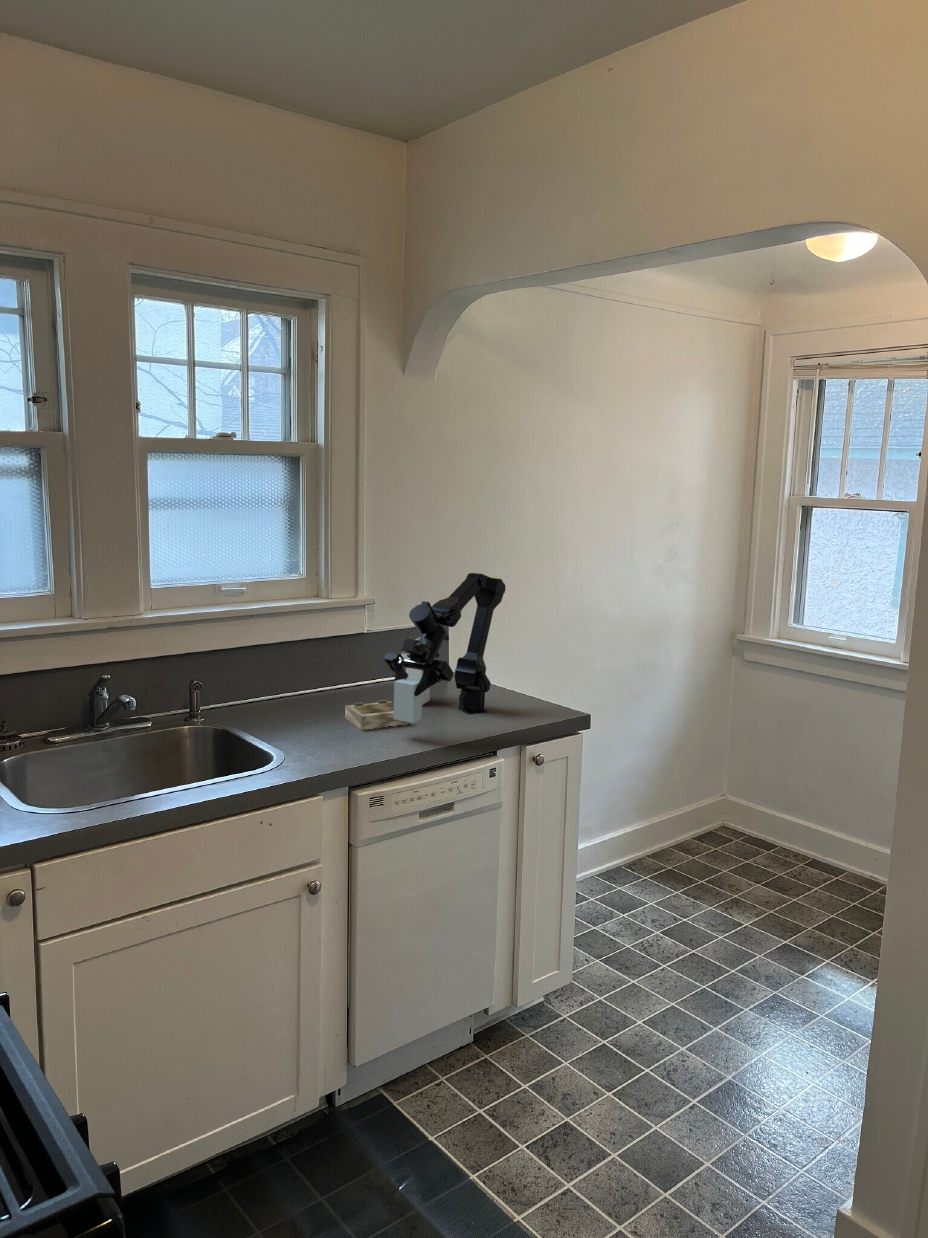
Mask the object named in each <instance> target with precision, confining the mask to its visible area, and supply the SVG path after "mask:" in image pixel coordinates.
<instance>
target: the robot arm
mask: <svg viewBox="0 0 928 1238" xmlns="http://www.w3.org/2000/svg"><path fill="white" fill-rule="evenodd" d="M505 592H506V584H505V583H504V581H503V579H502V578H497V577H490V576H487V574H484V573H479V572H470V573H467V574H466V577H465V579H464V580H463V581H462V582H461V584H460V585H459V586H458V587H457V588H455V590H454V591H453V592H452V593H451V594H450V595H448V597H446V598H442V599H439V600H438V601H437V602H435V603H433V605H431V603H430V602H429V601H425V600H423V601H421V603H420V604H417V605H415V606H414V607H413V608H412V609H410V611H409V614H408V616H409V619H410V621H411V622H412V624H413V625H414V628H416V630H417V631H418V633H420V634H422V635H421V636H420V637H421V638H420V637H419V638H420V640H415V639H412V638H406V637H405V638H404V637H403V641H402V642H401V643H402V644H401V647H400V651H402V652H403V651H405V652H407V654H406V655H407V657H409V658H410V660H404V658H403V657H402V655H401V654H400V653H397V652H393V651H390V652H386V654H385V656H384V658H383V661H384V662H385V665H387V667H388V668H389V669H390V671H391V672H394V681H397V680H400V679H407V677H408V676H409V675H408V674H407V672H406V669H407V668H412V669H417V670H423V676H422V678H421V680H420V682H419V684H418V686H417V688H416V690H415V693H414V695H415V696H418V695H420V694H421V693H422V692H424V691H425V690H426V689H428V688H429V687H430V688H431V687H432V686H434V685H436V684H437V683H441V682H442V681H444V682H451V681H452V679H453V676H454V682H455V686H456V689H458V690H459V689H460V694H459V698H458V699H459V700H458V702H459V703H458V706H457V709H458V710H460V711H462V712H465V713H467V714H475V713H484V712H488V709H487V708H485V701H486V700H485V699H486V698H485V696H486V693H488V692H489V691H490V690H491V689H490V688H491V685H492V683H491V681H490V679H489V677H488V676H487V675H486V671H487V666H486V663H485V660H484V656H485V655H484V654H485V650H486V645H487V641H488V637H489V632H490V628H491V623H492V619H493V614H494V611H495V609H496V608H497V607H498V606H499V604H500V603H501V602H502V601H503V597H504V595H505ZM473 597H474V599H475V601H476V602H475V603H476V610H475V614H474V619H473V623H472V627H471V631H470V635H469V640H468V645H467V649H466V653H465V654H464V655H463V656H462V657H458V659H457V660H456V661H457V662H456V666H455V669H454V671H453V669H452V668H451V666H450V664H449V663H448V661H445V660H441V659H438V658H440V653H439V650H440V649H441V646H442V644H443V642H444V641H446V642H448V641H449V640H450V638H449V637H450V636H449V634H448V630H446V629H445V628H444V627H448V628H454V627H455V626H456V625H457V624H458V623H459V622H460V620H461V618H462V610H463V609H464V608H465V607H466V606H467V605H468V603H470V601H472V599H473ZM435 658H437V659H435Z"/></svg>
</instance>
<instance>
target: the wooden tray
mask: <svg viewBox="0 0 928 1238" xmlns="http://www.w3.org/2000/svg"><path fill="white" fill-rule="evenodd" d="M344 708H345V709H344V712H345V713H344V714H345V715H344V719H345V720H347V721H348V722H349V723H351V724H352V725H353V726H355V727H357V728H358V729H359V730H361V731H365V730H373V729H375V728H376V729H383V727H385V728H388V727H387V726H393V727H398V726H397V725H402V726H408V724H409V725H410V722H405V721H400V720H396V719H394V701H391V700H390V701H388V700H387V699H380V700H377V701H376V702H371V703H364V702H362V701H361V702H354V703H353V704H351V705H350V704H347V705H344ZM376 729H375V730H376Z"/></svg>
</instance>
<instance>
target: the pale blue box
mask: <svg viewBox="0 0 928 1238" xmlns="http://www.w3.org/2000/svg"><path fill="white" fill-rule="evenodd" d="M419 682H420V681H415V680H409V679H400V680H397V681H395V680H394V681H393V710H394V719H396V720H400V721H405V722H410V723H411V724H415V723H416V722H419V721H421V720H422V710H423V708H422V707H423V705H422V693H421V694H420V695H418V696H415V695H414V693H415V690H416V688H417V686H418V684H419Z"/></svg>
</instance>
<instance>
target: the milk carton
mask: <svg viewBox="0 0 928 1238" xmlns="http://www.w3.org/2000/svg"><path fill="white" fill-rule="evenodd" d="M420 638H421V636H419V637H417V638H416V639H414V640H420ZM399 654H401V655H402V657H403V658H404V660H410V658H409V657H407V655H406V654H407V652H405V651H402V652H400V653H399ZM406 672H407V674H408V675H409V676H408V677H407V679H409V680H415V681H420V680H421V678H422V676H423V670H417V669H412V668H407V669H406ZM430 691H431V687H429V688H428V689H426V690H425V691H424V692H422V706H423V705H425V704H426V703H428V702H429V701H430V698H431V697H430V696H431V692H430Z"/></svg>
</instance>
